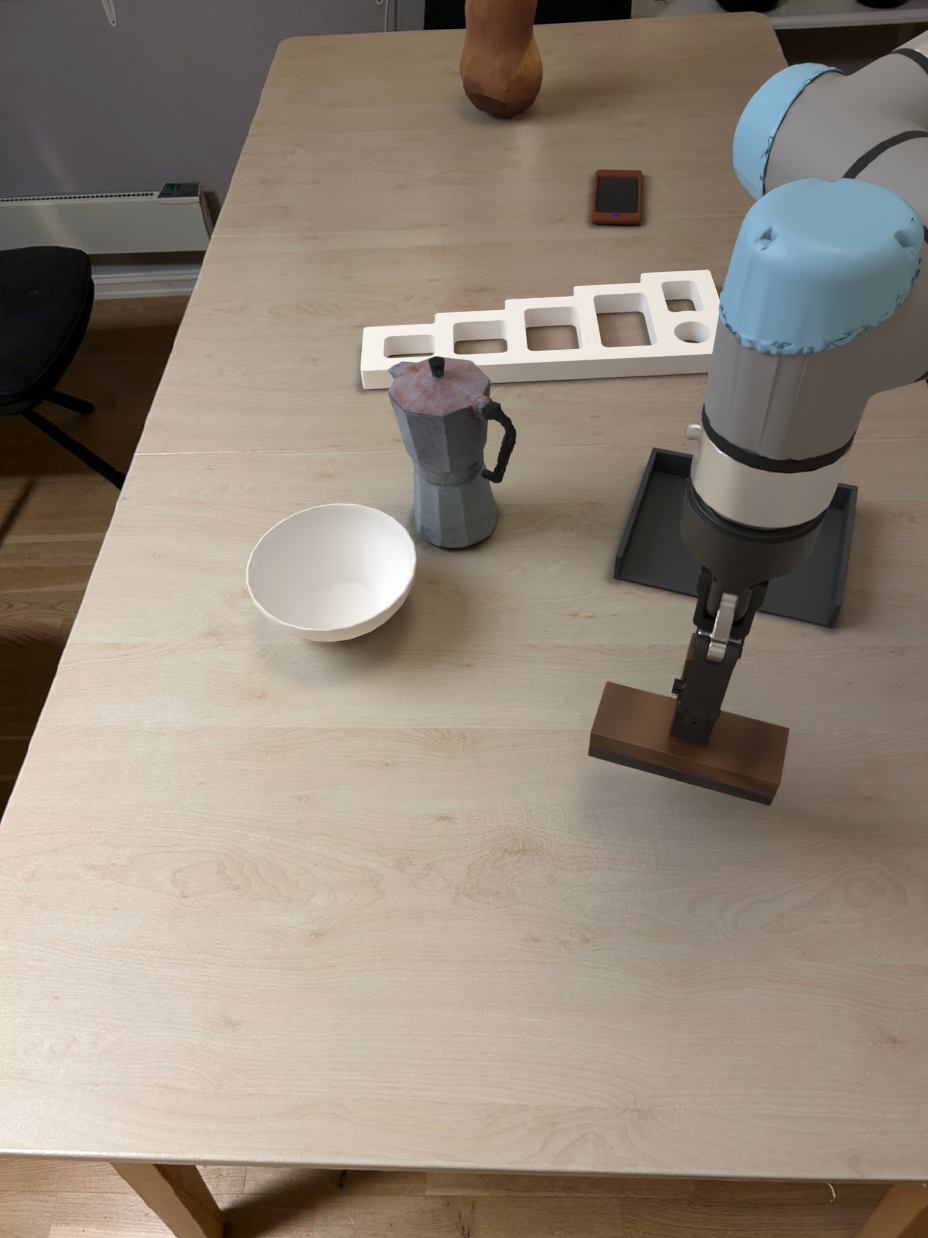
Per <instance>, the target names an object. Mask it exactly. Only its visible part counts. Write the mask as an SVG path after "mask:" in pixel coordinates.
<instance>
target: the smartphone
mask: <svg viewBox="0 0 928 1238" xmlns="http://www.w3.org/2000/svg"><path fill="white" fill-rule="evenodd" d="M593 188H594V189H593V197H592V209H591V223H592V224H595V225H631V226H636V225H637V226H638V225H640V224H641V223H642V201H643V200H642V197H643V195H642V194H643V193H642V192H643V171H642V170H640V169H597V170H595V175H594V185H593Z"/></svg>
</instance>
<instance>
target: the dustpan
mask: <svg viewBox="0 0 928 1238" xmlns="http://www.w3.org/2000/svg"><path fill="white" fill-rule="evenodd" d="M693 455H694V454H692V453H685V452H681V451H676V450H669V449H665V448H660V447H655V446H653V447H652V448H651V452H650V454H649V457H648V460H647V463H646V467H645V469H644V471H643V475H642V478H641V480H640V484H639V487H638V489H637V492H636V496H635V498H634V502H633V505H632V508H631V510H630V513H629V517H628V519H627V523H626V525H625V528H624V531H623V534H622V537H621V539H620V543H619V545H618V548H617V552H616V555H615V559H614V560H615V561H614V568H613V569H614V570H613V579H616V580H620V581H623V582H629V583H633V584H638V585H643V586H646V587H650V588H656V589H659V590H664V591H668V592H672V593H676V594H681V595H685V596H689V597H694V598H698V594H697V592H696V586H697V582H698V577H699V573H700V569H701V566H702V563H700V562H699V561H698V560H697V559H696V558H695V557H694V556H693V555H692V554H691V553H690V551H689V550H688V549H687V547H686V546H685V544H684V542H683V539H682V536H681V533H680V516H681V511H682V506H683V501H684V496H685V491H686V486H687V481H688V478H689V475H690V473H691V465H692V460H693ZM858 493H859V486H858V485H855V484H848V483H844V482H839V483H838V485H837V488H836V491H835V493H834V496H833V498H832V500H831V502H830V504H829V506H828V507H827V512H826V515H825V518H824V520H823V523H822V526H821V528H820V531H819V534H818V537H817V539H816V542H815V545H814V547H813V550H812V552H811V554H810V556H809V557H808V559H807V560H806V561H805V562H804V563H803V564H802V565H801V566H800V567H799V568H797V569H796V570H794V571H793V572H791V573H789V574H786V575H784V576H781V577H778V578H775V579H770V580H769V584H768V588H767V592H766V595H765V598H764V602H763V604H762V606H761V607H759V608H757V610H756V612H759V613H764V614H768V615H773V616H778V617H782V618H787V619H790V620H794V621H800V622H804V623H809V624H812V625H817V626H821V627H825V628H830V629H834V626H835V624H836V622H837V620H838V617H839V615H840V612H841V610H842V608H843V603H844V596H845V588H846V581H847V574H848V566H849V559H850V551H851V544H852V536H853V530H854V529H853V528H854V522H855V514H856V506H857V501H858Z"/></svg>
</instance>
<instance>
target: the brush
mask: <svg viewBox="0 0 928 1238" xmlns="http://www.w3.org/2000/svg"><path fill="white" fill-rule="evenodd" d="M696 636H698V633H696V632H692V633H691V637H690V640H689V645H688V648H687V651H686V652H687V653H686V656H685V660H684V664H683V669H682V671H681V677H680V679H681V680H684V678H687V676H688V672H689V668H690V664H691V660H692V656H693V652H694V649H693V648H694V647H692V646H693V642H694V639H696ZM602 691H603V692H602V695H601V698H600V701H599V703H598V707H597V710H596V714H595V717H594V720H593V723H592V726H591V729H590V733H589V734H590V735H589V742H588V752H587V756H588V757H590V758H594V759H598V760H600V761H601V760H602V761H606V762H608V763H611V764H612V763H613V764H616V765H618V766H623V767H626V768H630V769H633V770H637V771H640V772H645V773H649V774H651V775H654V776H659V777H663V778H665V779H670V780H673V781H676V782H679V783H680V782H681V783H684V784H687V785H690V786H694V787H698V788H703V789H706V790H710V791H713V792H716V793H720V794H723V795H727V796H731V797H734V798H738V799H742V800H746V801H748V802H752V803H756V804H759V805H763V806H766V807H771V806H772V804H773V801H774V799H775V797H776V795H777V794H778V790H779V788H780V786H781V784H782V777H783V772H784V766H785V760H786V754H787V753H786V752H787V748H788V747H787V746H788V741H789V735H790V727H788V726H784V725H780V724H775V723H771V722H767V721H765V720H759V719H756V718H752V717H749V716H744V715H740V714H736V713H732V712H729V711H725V710H721V714H720V717H718V720H716V722H715V723H714V726H713V729H712V732H711V736H710V739H709V742H708V745H707V746H703V745H700V744H696V743H692V742H689V741H685V740H681V739H677V738H674V737H670V734H671V730H672V726H673V722H674V718H675V714H676V710H677V706H678V702H679V698H680V695H676V697H670V696H667V695H663V694H659V693H654V692H651V691H647V690H643V689H640V688H636V687H631V686H628V685H624V684H620V683H616V682H612V681H609V680H608V681H606V682H605V684H604V688H603V690H602Z"/></svg>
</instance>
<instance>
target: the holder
mask: <svg viewBox="0 0 928 1238" xmlns="http://www.w3.org/2000/svg"><path fill="white" fill-rule="evenodd" d="M572 294H573V295H570V296H569V295H568V296H552V297H549V296H548V297H530V298H511V299H510V298H509V299H508V298H507V299H506V300H504V309H492V310H473V311H471V310H470V311H452V312H451V311H449V312H437V313H435V314H434V322H433V323H421V324H419V323H418V324H400V325H380V326H379V325H377V326H365V327H364V328H363V330H362V343H361V355H360V367H359V369H360V376H361V382H362V388H363V389H364V390H379V389H380V390H381V389H389V388H390V387H391V385H392V383H393V382H394V378H393V377H392V375H391V374H390V373H388V372H387V370H388V369H390V368H391V367H392V366H393V365H395V364H399V363H400V362H402V361H405V362H415V363H417V362H421V361H423V360H426V359H429V358H432V357H434V356H440V357H446V358H454V359H464V360H470V361H472V362H473V363H474V364H475V365H476V366H477V367H478V368H479V369H480V370H481V371H482V372H483V373H484V374H485V375H486V376H487V377H488V378H489V379H490V381H491V383H490V384H503V383H522V382H523V383H524V382H526V383H527V382H544V381H561V380H562V381H565V380H587V379H605V378H607V379H608V378H626V377H628V378H629V377H646V376H649V377H650V376H667V375H669V376H670V375H687V374H688V375H689V374H690V375H691V374H709V369H710V363H711V358H712V352H713V346H714V340H715V335H716V329H717V323H718V317H719V303H720V296H719V293H718V291H717V288H716V285H715V281H714V279H713V275H712V272H711V270H709V269H696V270H695V269H694V270H678V271H677V270H675V271H657V272H656V271H655V272H642V273H641V274H640V280H639V282H631V283H629V282H627V283H611V284H594V285H576V286H573V293H572ZM672 300H674V301H675V300H690V301H692V303H693V306H694V310H683V311H676V312H675V311H670V310H669V308H668V305H667V301H672ZM631 312H632V313H633V312H635V313H636V312H639V313H642V314H643V317H644V320H645V325H646V329H647V333H648V337H649V341H650V345H634V346H632V345H629V346H610V347H608V346H604V345H603V344H602V339H601V338H602V337H601V333H600V329H599V328H600V327H599V322H598V317H597V314H612V313H613V314H615V313H631ZM554 326H556V327H557V326H574V328H575V330H576V336H577V342H578V348H573V349H572V348H571V349H570V348H569V349H551V350H550V349H549V350H548V349H547V350H531V349H529V348H528V340H527V330H526V329H528V328H535V327H536V328H537V327H538V328H539V327H554ZM482 340H485V341H486V340H504V341H506V345H507V346H506V347H507V350H505V351H503V352H489V353H470V354H458V353H455V344H456V343H458V342H462V341H463V342H464V341H482ZM687 341H693V342H687ZM413 354H414V355H417V354H432V355H427V356H410V357H409V356H407V357H390V356H394V355H413Z"/></svg>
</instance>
